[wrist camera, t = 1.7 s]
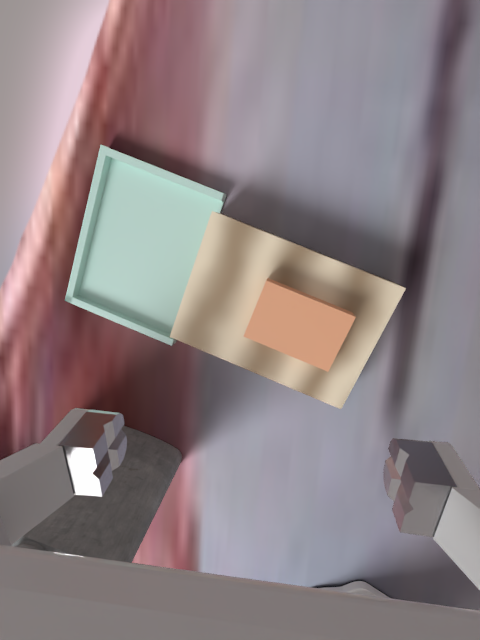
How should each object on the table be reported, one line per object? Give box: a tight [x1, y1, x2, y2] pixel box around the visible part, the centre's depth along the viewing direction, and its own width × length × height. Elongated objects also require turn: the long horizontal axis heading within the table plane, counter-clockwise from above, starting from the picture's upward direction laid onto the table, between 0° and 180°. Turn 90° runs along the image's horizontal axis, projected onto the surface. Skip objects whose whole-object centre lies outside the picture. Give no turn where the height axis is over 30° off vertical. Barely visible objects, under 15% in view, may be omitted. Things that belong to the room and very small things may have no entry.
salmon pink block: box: [243, 278, 356, 372], centre depth 33 cm, size 9×6×2 cm, turn 69°
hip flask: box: [12, 426, 182, 563], centre depth 36 cm, size 16×4×20 cm, turn 75°
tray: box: [65, 145, 227, 346], centre depth 38 cm, size 14×18×2 cm
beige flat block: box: [170, 211, 406, 409], centre depth 36 cm, size 20×14×4 cm
